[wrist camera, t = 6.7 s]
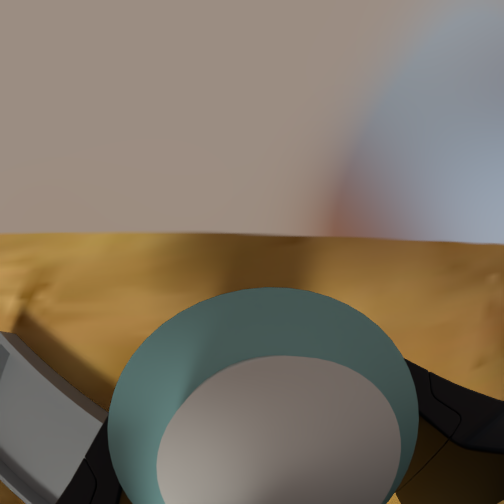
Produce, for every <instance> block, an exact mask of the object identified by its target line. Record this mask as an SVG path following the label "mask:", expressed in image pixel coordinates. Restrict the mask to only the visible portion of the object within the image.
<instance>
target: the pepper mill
mask: <svg viewBox="0 0 504 504" xmlns="http://www.w3.org/2000/svg"><path fill="white" fill-rule="evenodd" d="M418 423H419V413H418V400H417V395H416V389H415V385H414V382H413V379H412V376H411V373H410V370H409V368H408V366H407V364H406V362H405V360H404V358H403V356H402V354H401V353H400V351H399V350H398V349H397V347H396V346H395V344H394V343H393V341H392V340H391V339H390V338H389V337H388V336H387V335H386V334H385V333H384V331H383V330H382V329H381V328H380V327H379V326H378V325H376V324H375V323H374V322H373V321H371V320H370V319H369V318H368V317H366V316H365V315H364V314H362V313H361V312H359V311H357V310H356V309H354V308H352V307H351V306H349V305H347V304H345V303H342V302H340V301H338V300H335V299H333V298H331V297H328V296H325V295H321V294H318V293H314V292H311V291H305V290H299V289H292V288H274V287H264V288H254V289H243V290H239V291H235V292H230V293H226V294H221V295H219V296H216V297H213V298H210V299H207V300H205V301H202V302H199V303H197V304H195V305H193V306H191V307H190V308H188V309H186V310H184V311H182V312H180V313H178V314H177V315H175V316H174V317H173V318H171V319H170V320H168V321H167V322H165V323H164V324H162V325H161V326H160V327H159V328H158V329H157V330H156V331H154V332H153V333H152V334H151V335H150V336H149V337H148V338H147V339H146V340H145V341H144V342H143V343H142V344H141V346H140V347H139V348H138V349H137V350H136V352H135V353H134V354H133V355H132V357H131V358H130V360H129V362H128V363H127V365H126V366H125V368H124V370H123V371H122V373H121V376H120V378H119V380H118V382H117V385H116V387H115V390H114V393H113V396H112V400H111V404H110V408H109V417H108V428H107V430H108V445H109V451H110V456H111V460H112V464H113V467H114V470H115V473H116V475H117V478H118V480H119V483H120V484H121V486H122V488H123V490H124V491H125V493H126V495H127V497H128V498H129V500H130V501H131V502H132V504H386V503H387V502H388V501H389V500H390V498H391V497H392V495H393V494H394V493H395V491H396V490H397V488H398V487H399V485H400V483H401V481H402V479H403V477H404V476H405V474H406V472H407V470H408V467H409V464H410V462H411V459H412V456H413V453H414V449H415V445H416V440H417V434H418Z"/></svg>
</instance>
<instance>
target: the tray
mask: <svg viewBox="0 0 504 504" xmlns="http://www.w3.org/2000/svg"><path fill="white" fill-rule="evenodd" d="M108 414H109V413H108V412H107V411H105V410H104V409H103V408H101V407H100V406H98V405H97V404H96V403H94V402H93V401H91V400H90V399H89V398H87V397H86V396H85V395H83V394H82V393H81V392H80V391H78V390H77V389H76V388H75V387H73V386H72V385H71V384H70V383H68V382H67V381H66V380H65V379H63V378H62V377H61V376H60V375H59V374H58V373H56V372H55V371H54V370H53V369H52V368H51V367H49V366H48V365H47V364H46V363H45V362H44V361H43V360H42V359H41V358H40V357H38V356H37V355H36V354H35V353H34V352H33V351H32V350H31V349H30V348H29V347H28V346H27V345H26V344H25V343H24V342H23V341H22V340H21V339H20V338H19V337H18V336H17V335H16V334H14V333H8V332H2V331H0V480H1V481H2V482H3V483H4V484H5V485H6V486H7V487H8V488H9V489H10V490H11V491H12V492H13V493H15V494H16V495H17V496H18V497H19V498H20V499H21V500H22V501H23V502H25V503H26V504H55V503H56V502H57V500H58V499H59V497H60V496H61V495H62V493H63V492H64V490H65V488H66V487H67V485H68V484H69V482H70V481H71V479H72V477H73V476H74V474H75V472H76V470H77V469H78V467H79V465H80V463H81V461H82V460H83V458H85V454H86V453H87V451H88V449H89V447H90V445H91V444H92V442H93V440H94V438H95V437H96V435H97V433H98V431H99V429H100V428H101V426H102V424H103V422H104V421H105V419H106V417H107V415H108Z"/></svg>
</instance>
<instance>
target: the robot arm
mask: <svg viewBox="0 0 504 504" xmlns="http://www.w3.org/2000/svg"><path fill="white" fill-rule="evenodd" d="M404 360H405V362H406V364H407V366H408V368H409V370H410V373H411V376H412V379H413V382H414V385H415V389H416V395H417V400H418V413H419V423H418V434H417V440H416V445H415V449H414V453H413V456H412V459H411V462H410V464H409V467H408V470H407V472H406V474H405V476H404V477H403V479H402V481H401V483H400V485H399V487H398V488H397V490H396V491H395V493H396V495H397V497H398V499H399V501H400V503H401V504H504V401H501V400H498V399H495V398H492V397H489V396H486V395H484V394H481V393H478V392H475V391H473V390H470V389H467V388H465V387H462V386H460V385H457V384H455V383H453V382H450V381H448V380H446V379H444V378H442V377H440V376H438V375H436V374H434V373H432V372H428V370H426V369H424V368H422V367H420V366H418V365H416V364H414V363H412V362H410V361H408V360H407V359H405V358H404ZM108 417H109V414H108V415H107V417H106V419H105V421H104V422H103V424H102V426H101V428H100V429H99V431H98V433H97V435H96V437H95V438H94V440H93V442H92V444H91V445H90V447H89V449H88V451H87V453H86V454H85V458H83V460H82V461H81V463H80V465H79V467H78V469H77V470H76V472H75V474H74V476H73V477H72V479H71V481H70V482H69V484H68V485H67V487H66V488H65V490H64V492H63V493H62V495H61V496H60V497H59V499H58V500H57V502H56V503H55V504H132V502H131V501H130V500H129V498H128V497H127V495H126V493H125V491H124V490H123V488H122V486H121V484H120V483H119V480H118V478H117V475H116V473H115V470H114V467H113V464H112V460H111V456H110V451H109V445H108V430H107V428H108Z"/></svg>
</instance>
